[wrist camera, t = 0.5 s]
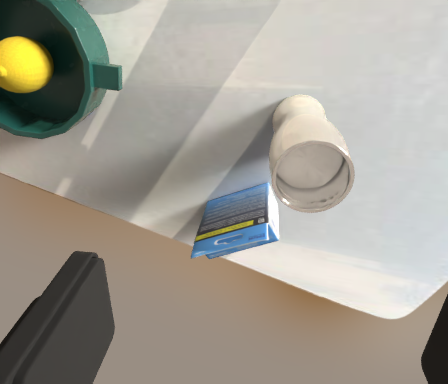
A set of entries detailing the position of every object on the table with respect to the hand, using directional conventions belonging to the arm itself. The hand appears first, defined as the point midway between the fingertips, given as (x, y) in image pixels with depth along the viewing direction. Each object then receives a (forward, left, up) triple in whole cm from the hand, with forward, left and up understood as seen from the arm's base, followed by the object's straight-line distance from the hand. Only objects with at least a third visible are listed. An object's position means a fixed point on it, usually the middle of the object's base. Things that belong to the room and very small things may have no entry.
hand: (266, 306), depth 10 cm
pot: (+2, -25, -35) cm, 43 cm away
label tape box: (+17, 0, -35) cm, 39 cm away
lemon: (+2, -25, -35) cm, 43 cm away
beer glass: (+5, +5, -35) cm, 35 cm away
